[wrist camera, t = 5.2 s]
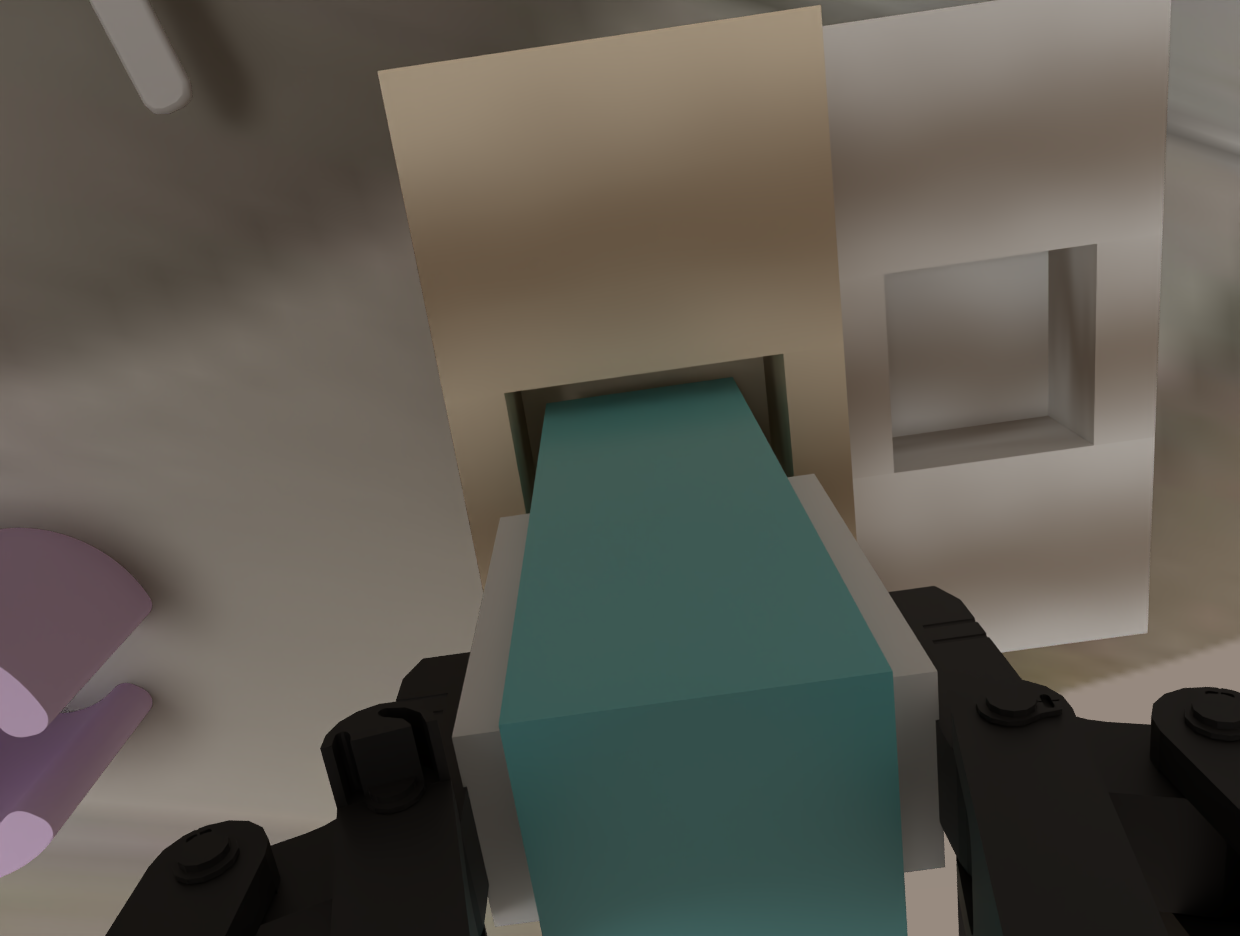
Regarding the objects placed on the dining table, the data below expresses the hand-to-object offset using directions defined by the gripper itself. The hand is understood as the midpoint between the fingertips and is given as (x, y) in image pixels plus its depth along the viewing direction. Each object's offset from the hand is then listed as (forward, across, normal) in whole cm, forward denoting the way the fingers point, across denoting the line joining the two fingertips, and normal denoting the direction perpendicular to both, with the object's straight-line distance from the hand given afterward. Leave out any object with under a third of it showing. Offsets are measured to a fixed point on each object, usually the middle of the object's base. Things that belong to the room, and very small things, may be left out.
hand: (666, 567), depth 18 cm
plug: (+5, 0, 0) cm, 5 cm away
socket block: (+14, +5, 0) cm, 15 cm away
